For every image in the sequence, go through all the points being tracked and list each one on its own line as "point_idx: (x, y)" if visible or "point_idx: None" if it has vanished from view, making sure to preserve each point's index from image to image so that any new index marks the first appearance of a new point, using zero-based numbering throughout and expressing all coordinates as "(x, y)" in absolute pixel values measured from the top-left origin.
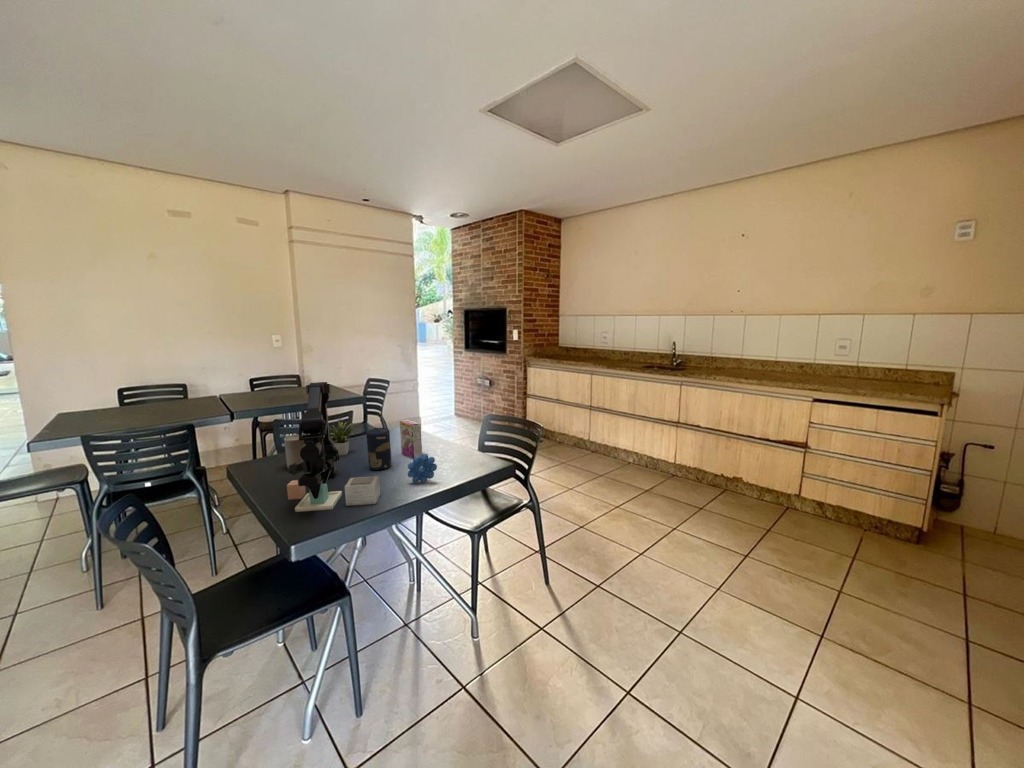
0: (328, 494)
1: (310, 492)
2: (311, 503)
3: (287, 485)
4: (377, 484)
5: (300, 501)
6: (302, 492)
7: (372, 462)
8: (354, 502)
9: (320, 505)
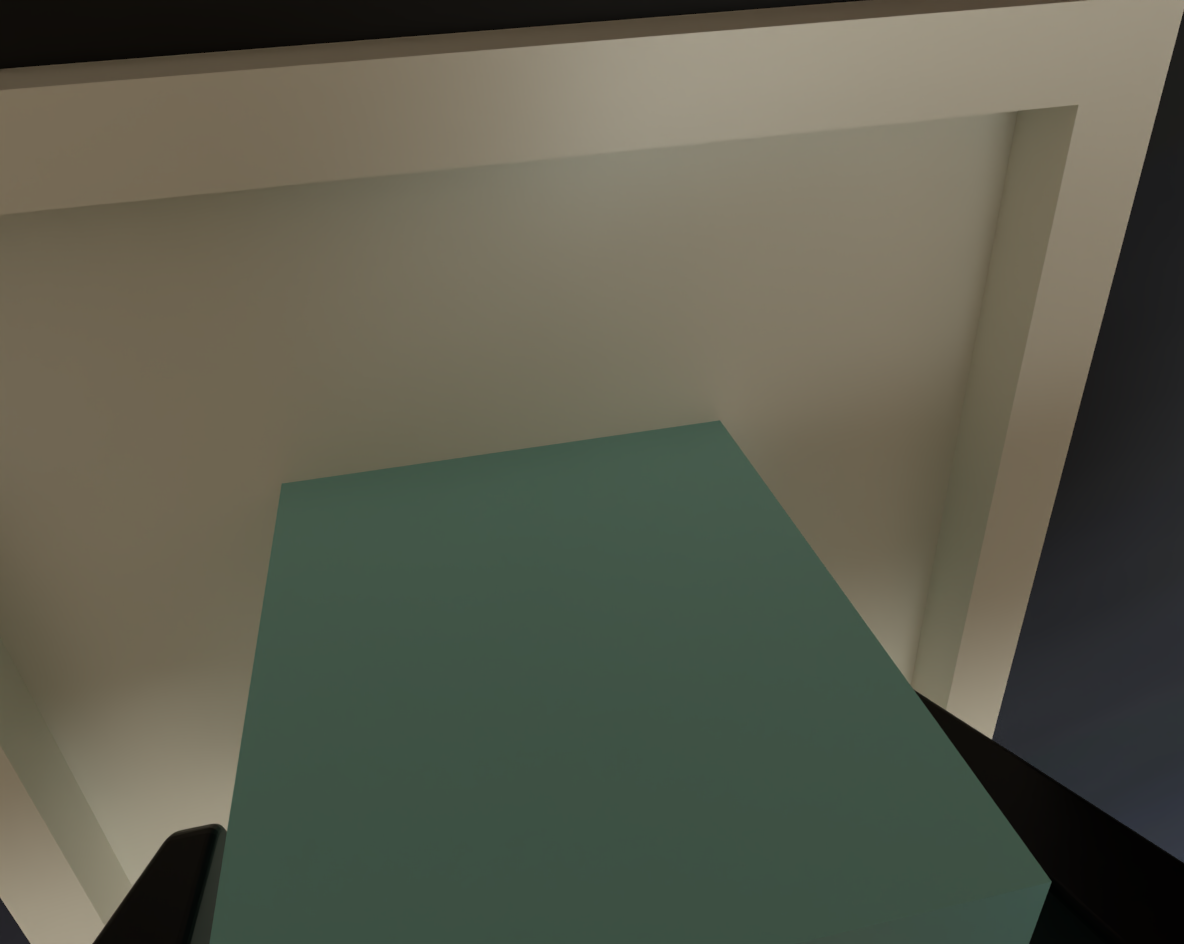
0: (926, 639)
1: (226, 913)
2: (288, 523)
3: None
4: None
5: (331, 70)
6: None
7: None
8: None
9: (69, 891)
